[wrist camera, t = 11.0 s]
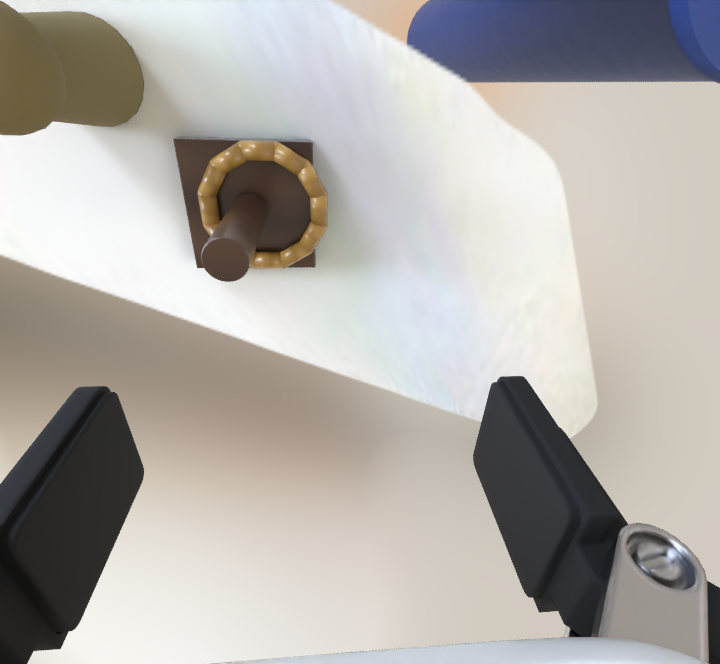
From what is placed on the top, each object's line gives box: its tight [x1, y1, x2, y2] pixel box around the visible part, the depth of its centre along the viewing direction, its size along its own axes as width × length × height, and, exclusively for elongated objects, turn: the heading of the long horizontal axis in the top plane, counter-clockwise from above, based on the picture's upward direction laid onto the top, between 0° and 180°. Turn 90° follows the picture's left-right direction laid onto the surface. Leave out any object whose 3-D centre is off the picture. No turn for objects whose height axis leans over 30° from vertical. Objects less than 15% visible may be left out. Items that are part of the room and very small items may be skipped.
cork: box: [0, 1, 144, 135], centre depth 21 cm, size 6×6×11 cm
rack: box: [174, 137, 315, 282], centre depth 26 cm, size 9×9×11 cm
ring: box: [198, 140, 327, 268], centre depth 29 cm, size 9×9×1 cm
